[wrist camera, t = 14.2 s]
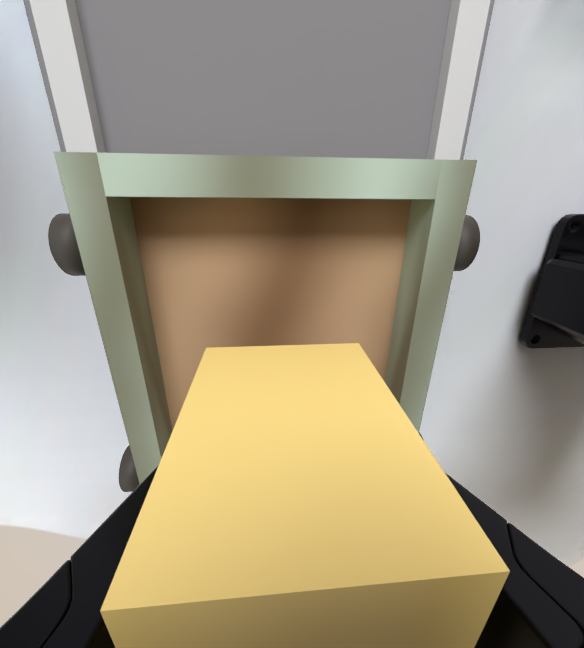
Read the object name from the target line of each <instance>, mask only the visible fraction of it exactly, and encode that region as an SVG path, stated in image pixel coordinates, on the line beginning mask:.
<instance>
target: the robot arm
mask: <svg viewBox="0 0 584 648" xmlns="http://www.w3.org/2000/svg"><path fill="white" fill-rule="evenodd" d="M571 224H572V227H571V228H570V225H571ZM533 336H534V337H533ZM532 337H533V338H532ZM520 342H521V343H522V344H523V345H525V346H527V347H529V348H554V347H583V346H584V214H569V215H566V216H564V217H562V218H561V219H560V221H559V222H558V224H557V226H556V229H555V232H554V235H553V238H552V241H551V244H550V247H549V250H548V253H547V256H546V259H545V263H544V266H543V269H542V272H541V275H540V278H539V281H538V284H537V287H536V290H535V293H534V296H533V299H532V302H531V305H530V308H529V311H528V315H527V318H526V321H525V324H524V327H523V330H522V333H521V336H520ZM158 466H159V465H158ZM158 466H157V467H156V468H155V469H154V470H153V471H152V472H151V473H150V474H149V476H148V477H147V478H146V479H145V480H144V481H143V482H142V483H141V484H140V485H139V486H138V487H137V488H136V489H135V490H134V491H133V492H132V493H131V494H130V495H129V496H128V497H127V499H126V500H125V501H124V502H123V503H122V504H121V505H120V506H119V507H118V508H117V509H116V510H115V511H114V512H113V513H112V514H111V515H110V516H109V517H108V518H107V519H106V520H105V522H104V523H103V524H102V525H101V526H100V527H99V528H98V529H97V530H96V531H95V532H94V533H93V534H92V535H91V536H90V537H89V538H88V539H87V540H86V541H85V542H84V544H83V545H82V546H81V547H80V548H79V549H78V550H77V551H76V552H75V553H74V554H73V555H72V556H71V561H70V560H68V561H66V562H65V563H64V564H63V565H62V566H61V567H60V569H58V570H57V571H56V573H55V574H54V575H53V576H52V577H51V578H50V579H49V580H48V581H47V582H46V583H45V584H44V585H43V586H42V587H41V588H40V589H39V590H38V591H37V592H36V593H35V594H34V595H33V596H32V597H31V598H30V599H29V600H28V601H27V602H26V603H25V604H24V605H23V606H22V607H21V608H20V609H19V610H18V611H17V612H16V613H15V614H14V615H13V616H12V617H11V618H10V619H9V620H8V621H7V622H6V623H5V624H4V625H2V626H1V627H0V648H115V645H114V643H113V641H112V638H111V636H110V634H109V631H108V629H107V627H106V624H105V622H104V619H103V617H102V615H101V612H100V610H101V608H102V605H103V603H104V600H105V598H106V595H107V593H108V590H109V588H110V585H111V583H112V580H113V578H114V575H115V573H116V570H117V568H118V565H119V563H120V560H121V558H122V555H123V553H124V550H125V548H126V545H127V543H128V540H129V538H130V536H131V533H132V531H133V528H134V526H135V523H136V521H137V518H138V516H139V513H140V511H141V508H142V506H143V503H144V501H145V498H146V496H147V493H148V491H149V488H150V486H151V483H152V481H153V478H154V476H155V473H156V471H157V468H158ZM445 474H446V473H445ZM446 475H447V474H446ZM447 477H448V478H449V480H450V481H451V483H452V484H453V486H454V487H455V489H456V490H457V492H458V493H459V495H460V496H461V498H462V499H463V501H464V502H465V504H466V505H467V507H468V509H469V510H470V512H471V513H472V515H473V516H474V518H475V519H476V521H477V522H478V524H479V525H480V527H481V528H482V530H483V531H484V533H485V534H486V536H487V537H488V539H489V540H490V542H491V543H492V545H493V546H494V548H495V549H496V551H497V552H498V554H499V555H500V557H501V558H502V560H503V561H504V563H505V564H506V566H507V567H508V569H509V570H510V573H509V575H508V577H507V579H506V581H505V583H504V585H503V588H502V590H501V592H500V594H499V596H498V598H497V600H496V602H495V605H494V607H493V609H492V611H491V613H490V615H489V617H488V620H487V622H486V624H485V626H484V628H483V630H482V632H481V635H480V637H479V639H478V641H477V643H476V645H475V647H474V648H584V578H583V577H582V576H580V575H579V574H577V573H576V572H575V571H573V570H572V569H570V568H569V567H568V566H566V565H565V564H563V563H562V562H561V561H559V560H558V559H556V558H555V557H554V556H552V555H551V554H550V553H548V552H547V551H546V550H544V549H543V548H542V547H540V546H539V545H538V544H537V543H535V542H534V541H533V540H531V539H530V538H529V537H527V536H526V535H525V534H523V533H522V532H521V531H520V530H518V529H517V528H516V527H514V526H513V525H512V524H510V523H507V521H506V520H505V519H504V518H503V517H501V516H500V515H499V514H497V513H496V512H495V511H494V510H492V509H491V508H490V507H489V506H487V505H486V504H485V503H483V502H482V501H481V500H480V499H478V498H477V497H476V496H474V495H473V494H472V493H471V492H469V491H468V490H467V489H465V488H464V487H463V486H462V485H460V484H459V483H458V482H456V481H455V480H454V479H453V478H451V477H450V476H449V475H447Z"/></svg>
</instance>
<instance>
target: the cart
mask: <svg viewBox="0 0 584 648" xmlns="http://www.w3.org/2000/svg"><path fill="white" fill-rule="evenodd" d="M54 155H55V159H56V162H57V166H58V170H59V174H60V178H61V182H62V186H63V190H64V193H65V197H66V201H67V205H68V209H69V213H70V214H58V215H56V216H55V217H54V218H53V219H52V221H51V223H50V226H49V232H48V238H49V246H50V250H51V253H52V255H53V258H54V260H55V261H56V263H57V264H58V266H59V267H60V268H61V269H62V270H63V271H64V272H65V273H67V274H69V275H73V276H80V275H86V279H87V282H88V286H89V290H90V294H91V298H92V302H93V306H94V309H95V313H96V317H97V321H98V325H99V329H100V333H101V337H102V340H103V344H104V348H105V352H106V356H107V360H108V364H109V367H110V371H111V375H112V379H113V383H114V387H115V391H116V395H117V398H118V402H119V406H120V410H121V414H122V418H123V422H124V425H125V429H126V433H127V437H128V441H129V446H128V447H127V449H126V450H125V452H124V454H123V457H122V460H121V464H120V469H119V484H120V487H121V489H122V491H124V492H130V491H134V490H135V489H136V488H137V487H138V486H139V485H140V484H141V483H142V482H143V481H144V480H145V479H146V478H147V477H148V476H149V474H150V473H151V472H152V471H153V470H154V469H155V468H156V467H157V466H158V465H159V464H160V461H161V459H162V456H163V454H164V451H165V449H166V446H167V444H168V441H169V439H170V436H171V434H172V431H173V429H174V426H175V424H176V421H177V419H178V416H179V414H180V411H181V409H182V406H183V404H184V401H185V399H186V396H187V394H188V392H189V389H190V387H191V384H192V382H193V379H194V377H195V374H196V372H197V369H198V367H199V364H200V362H201V359H202V357H203V354H204V352H205V349H206V348H213V347H246V346H279V345H312V344H344V343H359V344H360V346H361V347H362V349H363V350H364V352H365V353H366V355H367V356H368V358H369V359H370V361H371V362H372V364H373V365H374V367H375V368H376V370H377V371H378V373H379V374H380V376H381V377H382V379H383V380H384V382H385V383H386V385H387V386H388V388H389V389H390V391H391V392H392V394H393V395H394V397H395V399H396V400H397V402H398V403H399V405H400V406H401V408H402V409H403V411H404V412H405V414H406V415H407V417H408V418H409V420H410V421H411V423H412V424H413V426H414V427H415V429H416V430H417V432H418V433H419V429H420V425H421V420H422V415H423V411H424V406H425V401H426V396H427V392H428V387H429V382H430V378H431V373H432V368H433V364H434V359H435V354H436V350H437V345H438V340H439V336H440V331H441V326H442V322H443V317H444V312H445V308H446V303H447V298H448V294H449V289H450V284H451V280H452V275H453V271H462V270H464V269H466V268H467V267H468V266H469V265H470V264H471V263H472V262H473V260H474V259H475V256H476V254H477V252H478V248H479V243H480V231H479V227H478V224H477V222H476V220H475V219H474V218H473V217H471V216H468V215H465V214H466V209H467V205H468V200H469V195H470V191H471V186H472V181H473V177H474V172H475V167H476V163H477V160H437V159H388V158H339V157H290V156H241V155H192V154H143V153H94V152H54ZM419 435H420V436H421V434H420V433H419ZM421 438H422V436H421ZM422 439H423V438H422ZM423 441H424V440H423Z"/></svg>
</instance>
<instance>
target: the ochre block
mask: <svg viewBox="0 0 584 648" xmlns="http://www.w3.org/2000/svg"><path fill="white" fill-rule="evenodd" d="M509 573H510V570H509V569H508V567H507V566H506V564H505V563H504V561H503V560H502V558H501V557H500V555H499V554H498V552H497V551H496V549H495V548H494V546H493V545H492V543H491V542H490V540H489V539H488V537H487V536H486V534H485V533H484V531H483V530H482V528H481V527H480V525H479V524H478V522H477V521H476V519H475V518H474V516H473V515H472V513H471V512H470V510H469V509H468V507H467V505H466V504H465V502H464V501H463V499H462V498H461V496H460V495H459V493H458V492H457V490H456V489H455V487H454V486H453V484H452V483H451V481H450V480H449V478H448V477H447V475H446V474H445V472H444V471H443V469H442V468H441V466H440V465H439V463H438V462H437V460H436V459H435V457H434V456H433V454H432V453H431V451H430V450H429V448H428V447H427V445H426V444H425V442H424V441H423V439H422V438H421V436H420V435H419V433H418V432H417V430H416V429H415V427H414V426H413V424H412V423H411V421H410V420H409V418H408V417H407V415H406V414H405V412H404V411H403V409H402V408H401V406H400V405H399V403H398V402H397V400H396V399H395V397H394V395H393V394H392V392H391V391H390V389H389V388H388V386H387V385H386V383H385V382H384V380H383V379H382V377H381V376H380V374H379V373H378V371H377V370H376V368H375V367H374V365H373V364H372V362H371V361H370V359H369V358H368V356H367V355H366V353H365V352H364V350H363V349H362V347H361V346H360V344H359V343H344V344H312V345H279V346H246V347H213V348H206V349H205V352H204V354H203V357H202V359H201V362H200V364H199V367H198V369H197V372H196V374H195V377H194V379H193V382H192V384H191V387H190V389H189V392H188V394H187V396H186V399H185V401H184V404H183V406H182V409H181V411H180V414H179V416H178V419H177V421H176V424H175V426H174V429H173V431H172V434H171V436H170V439H169V441H168V444H167V446H166V449H165V451H164V454H163V456H162V459H161V461H160V464H159V466H158V468H157V471H156V473H155V476H154V478H153V481H152V483H151V486H150V488H149V491H148V493H147V496H146V498H145V501H144V503H143V506H142V508H141V511H140V513H139V516H138V518H137V521H136V523H135V526H134V528H133V531H132V533H131V536H130V538H129V540H128V543H127V545H126V548H125V550H124V553H123V555H122V558H121V560H120V563H119V565H118V568H117V570H116V573H115V575H114V578H113V580H112V583H111V585H110V588H109V590H108V593H107V595H106V598H105V600H104V603H103V605H102V608H101V610H100V612H101V615H102V617H103V619H104V622H105V624H106V627H107V629H108V631H109V634H110V636H111V638H112V641H113V643H114V645H115V648H474V647H475V645H476V643H477V641H478V639H479V637H480V635H481V632H482V630H483V628H484V626H485V624H486V622H487V620H488V617H489V615H490V613H491V611H492V609H493V607H494V605H495V602H496V600H497V598H498V596H499V594H500V592H501V590H502V588H503V585H504V583H505V581H506V579H507V577H508V575H509Z"/></svg>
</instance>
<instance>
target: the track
mask: <svg viewBox="0 0 584 648" xmlns="http://www.w3.org/2000/svg"><path fill="white" fill-rule="evenodd" d="M23 1H24V5H25V9H26V13H27V17H28V21H29V25H30V29H31V33H32V37H33V41H34V45H35V49H36V53H37V57H38V61H39V65H40V69H41V73H42V77H43V81H44V85H45V89H46V93H47V97H48V101H49V105H50V109H51V113H52V117H53V121H54V125H55V129H56V133H57V137H58V141H59V145H60V149H61V152H94V153H143V154H192V155H241V156H290V157H339V158H388V159H437V160H463V156H464V151H465V146H466V141H467V136H468V131H469V126H470V121H471V116H472V111H473V106H474V101H475V96H476V91H477V86H478V81H479V75H480V70H481V65H482V60H483V55H484V50H485V45H486V40H487V35H488V30H489V25H490V20H491V15H492V10H493V5H494V0H23Z"/></svg>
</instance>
